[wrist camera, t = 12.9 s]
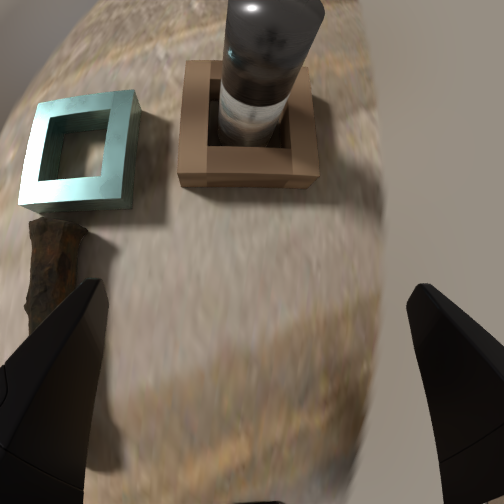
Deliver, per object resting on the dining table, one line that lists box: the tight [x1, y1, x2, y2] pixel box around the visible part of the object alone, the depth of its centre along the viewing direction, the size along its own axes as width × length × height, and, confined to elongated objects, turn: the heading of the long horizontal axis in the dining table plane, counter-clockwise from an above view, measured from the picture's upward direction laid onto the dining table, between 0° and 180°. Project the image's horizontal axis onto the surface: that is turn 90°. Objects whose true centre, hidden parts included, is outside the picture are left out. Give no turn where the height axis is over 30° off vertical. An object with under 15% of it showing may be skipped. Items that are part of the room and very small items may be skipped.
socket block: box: [18, 90, 141, 213], centre depth 20 cm, size 8×8×3 cm
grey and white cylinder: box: [218, 0, 325, 147], centre depth 16 cm, size 4×4×13 cm
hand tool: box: [24, 217, 88, 335], centre depth 18 cm, size 19×4×5 cm, turn 174°
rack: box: [177, 60, 320, 189], centre depth 21 cm, size 9×9×3 cm
